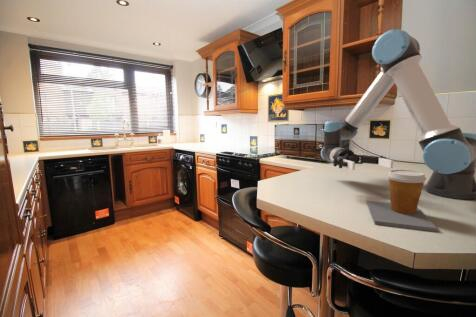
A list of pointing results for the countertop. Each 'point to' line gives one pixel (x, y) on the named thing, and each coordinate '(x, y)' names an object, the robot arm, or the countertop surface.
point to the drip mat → (399, 217)
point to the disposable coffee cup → (405, 190)
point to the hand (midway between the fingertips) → (372, 165)
